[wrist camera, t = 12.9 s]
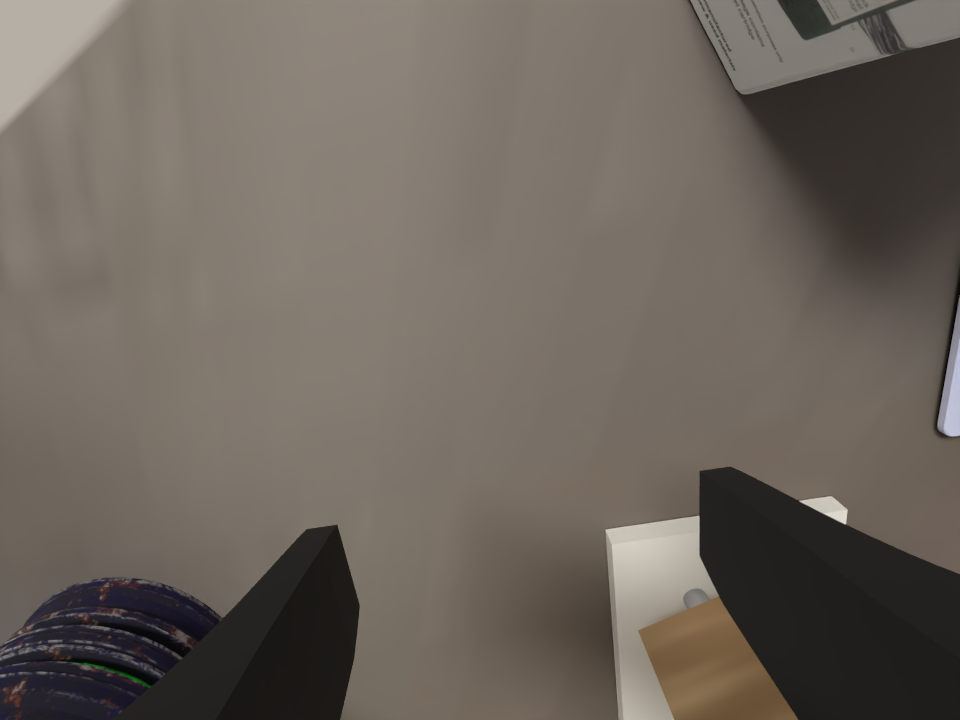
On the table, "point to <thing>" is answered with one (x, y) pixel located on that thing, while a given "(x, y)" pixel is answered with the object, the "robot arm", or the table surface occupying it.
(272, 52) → the table surface
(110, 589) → the storage jar
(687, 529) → the peg stand
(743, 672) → the tan wooden block
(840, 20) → the ink box
